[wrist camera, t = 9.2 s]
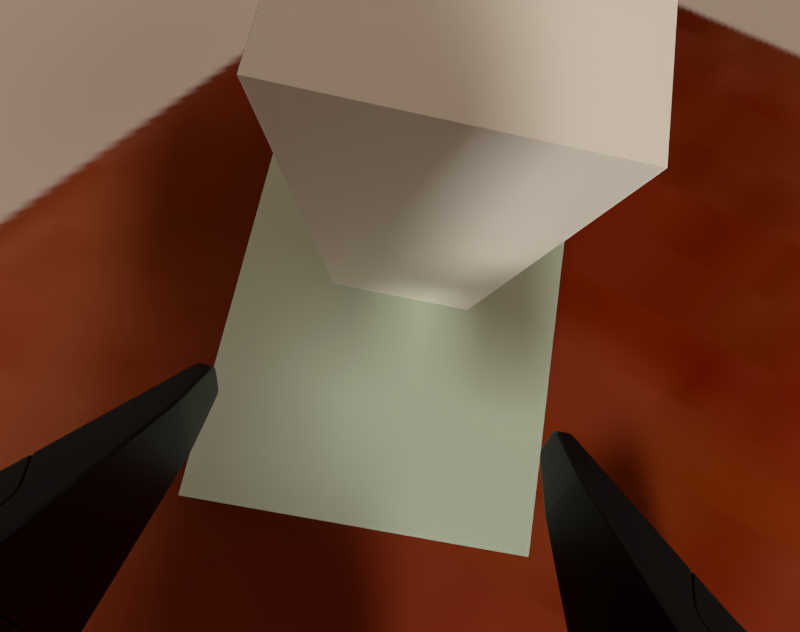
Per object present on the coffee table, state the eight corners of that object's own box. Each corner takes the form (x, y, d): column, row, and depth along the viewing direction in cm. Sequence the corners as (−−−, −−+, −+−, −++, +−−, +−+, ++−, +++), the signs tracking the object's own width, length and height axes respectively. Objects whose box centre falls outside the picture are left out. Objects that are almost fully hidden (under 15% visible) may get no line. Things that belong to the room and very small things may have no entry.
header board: (518, 545, 15) (588, 628, 10) (191, 487, 15) (96, 545, 10) (563, 168, 18) (633, 90, 13) (294, 110, 18) (261, 7, 13)
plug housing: (467, 309, 16) (666, 168, 5) (333, 283, 16) (236, 74, 5) (483, 206, 17) (685, -108, 6) (357, 180, 16) (321, -197, 6)
